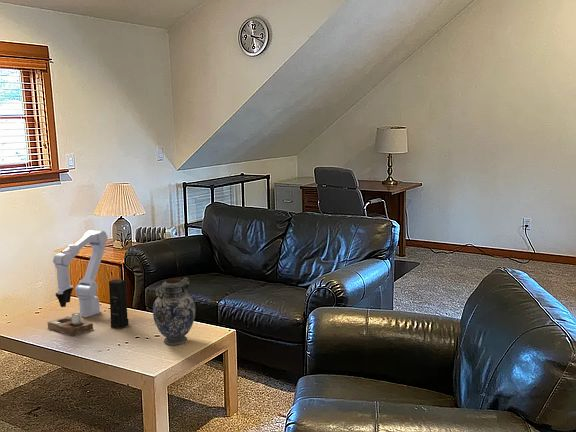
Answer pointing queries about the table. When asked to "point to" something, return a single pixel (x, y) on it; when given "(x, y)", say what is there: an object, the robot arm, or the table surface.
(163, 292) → the decorative vase
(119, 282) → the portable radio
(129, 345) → the table surface
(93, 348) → the table surface
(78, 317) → the steel peg
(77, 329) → the socket board
